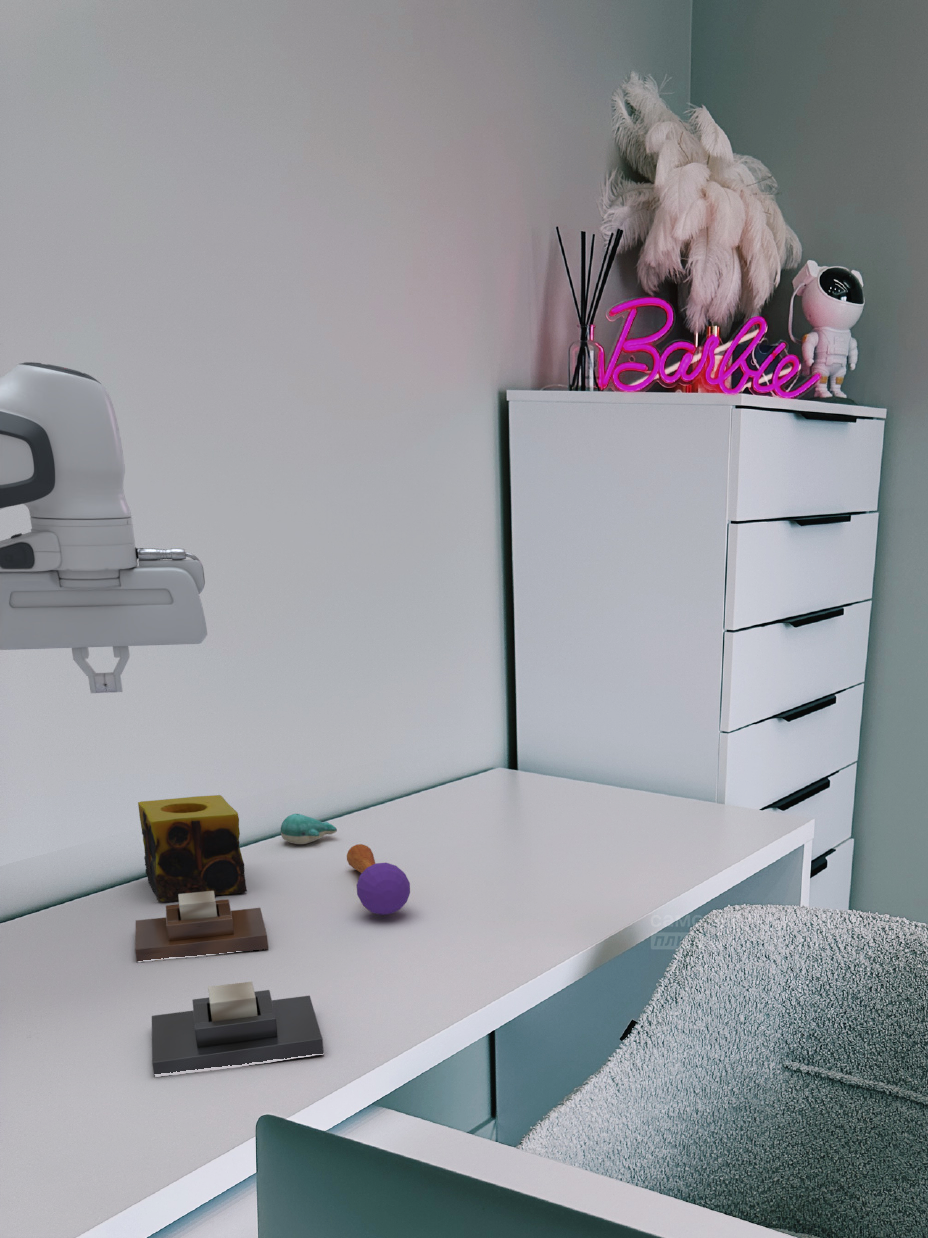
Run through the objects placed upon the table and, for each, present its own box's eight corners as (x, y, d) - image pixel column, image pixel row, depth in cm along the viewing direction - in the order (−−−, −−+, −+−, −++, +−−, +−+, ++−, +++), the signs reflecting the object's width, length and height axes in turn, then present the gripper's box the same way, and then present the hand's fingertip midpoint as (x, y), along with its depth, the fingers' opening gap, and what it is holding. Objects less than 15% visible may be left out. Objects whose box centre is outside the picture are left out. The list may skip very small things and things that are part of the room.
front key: (212, 1024, 110) (209, 1003, 109) (210, 1007, 113) (207, 986, 112) (257, 1018, 111) (255, 997, 111) (254, 1001, 115) (252, 981, 114)
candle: (248, 894, 151) (241, 814, 147) (158, 904, 146) (149, 822, 142) (230, 869, 159) (224, 793, 155) (145, 879, 154) (136, 800, 150)
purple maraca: (386, 836, 160) (418, 872, 143) (380, 881, 161) (410, 922, 144) (339, 831, 158) (365, 866, 140) (333, 877, 159) (358, 917, 141)
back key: (181, 923, 133) (179, 904, 132) (180, 911, 136) (178, 894, 135) (217, 919, 134) (215, 901, 133) (215, 908, 137) (213, 890, 136)
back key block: (137, 964, 130) (132, 933, 128) (137, 934, 137) (133, 904, 136) (268, 949, 134) (265, 919, 133) (261, 921, 142) (258, 892, 141)
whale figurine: (274, 838, 171) (272, 811, 170) (325, 830, 176) (324, 804, 174) (291, 849, 167) (289, 821, 166) (343, 841, 172) (342, 814, 170)
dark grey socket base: (154, 1080, 107) (149, 1043, 105) (153, 1032, 115) (148, 997, 114) (324, 1055, 112) (320, 1020, 110) (311, 1011, 120) (308, 977, 119)
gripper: (199, 545, 127) (215, 681, 132) (-29, 546, 120) (-3, 691, 125) (202, 550, 122) (218, 692, 127) (-37, 551, 114) (-10, 702, 119)
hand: (106, 691), depth 126 cm, fingers closed
